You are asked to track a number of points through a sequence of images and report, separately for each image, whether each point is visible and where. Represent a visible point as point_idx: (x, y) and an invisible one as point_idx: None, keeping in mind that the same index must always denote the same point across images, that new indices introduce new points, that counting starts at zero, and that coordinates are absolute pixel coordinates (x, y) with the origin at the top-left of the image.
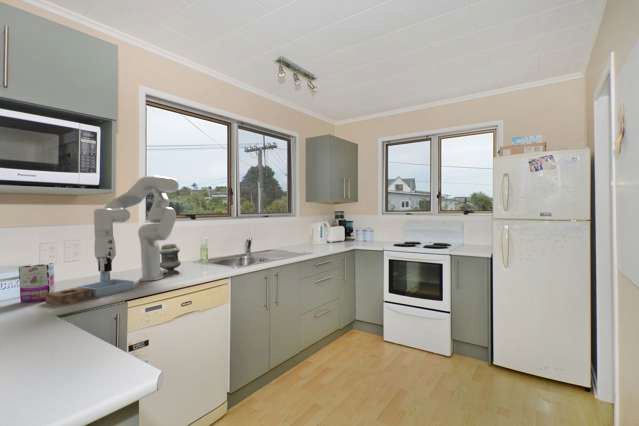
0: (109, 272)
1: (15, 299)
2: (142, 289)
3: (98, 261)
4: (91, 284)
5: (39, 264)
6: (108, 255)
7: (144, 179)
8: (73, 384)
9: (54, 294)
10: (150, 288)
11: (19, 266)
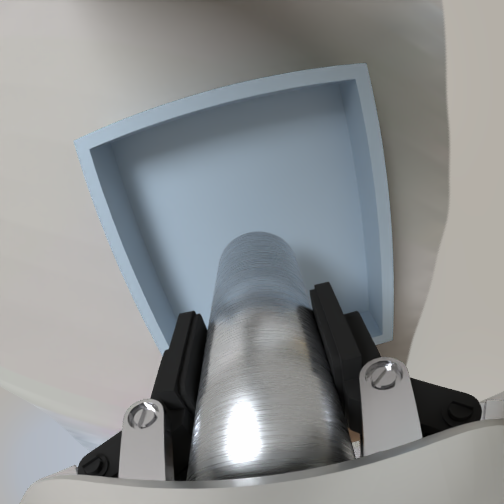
0: (297, 285)
1: (94, 444)
2: (416, 56)
3: (185, 466)
4: (156, 316)
5: None
6: (167, 483)
7: None
8: None
9: None
10: (430, 21)
11: None
